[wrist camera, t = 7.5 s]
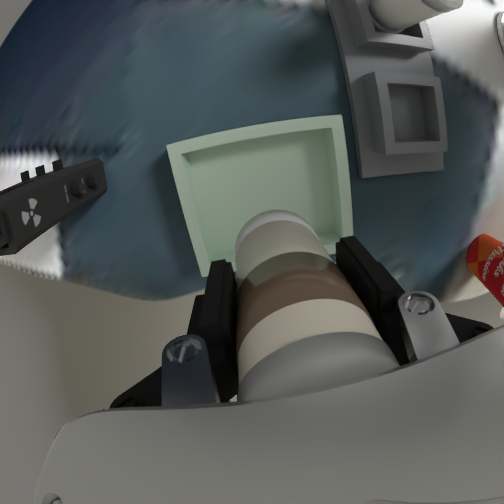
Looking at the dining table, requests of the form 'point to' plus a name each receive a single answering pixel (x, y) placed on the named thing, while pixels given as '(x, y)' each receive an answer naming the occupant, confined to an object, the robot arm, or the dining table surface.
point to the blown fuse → (297, 313)
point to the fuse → (406, 12)
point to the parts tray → (263, 182)
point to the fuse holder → (390, 93)
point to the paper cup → (488, 264)
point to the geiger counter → (46, 201)
